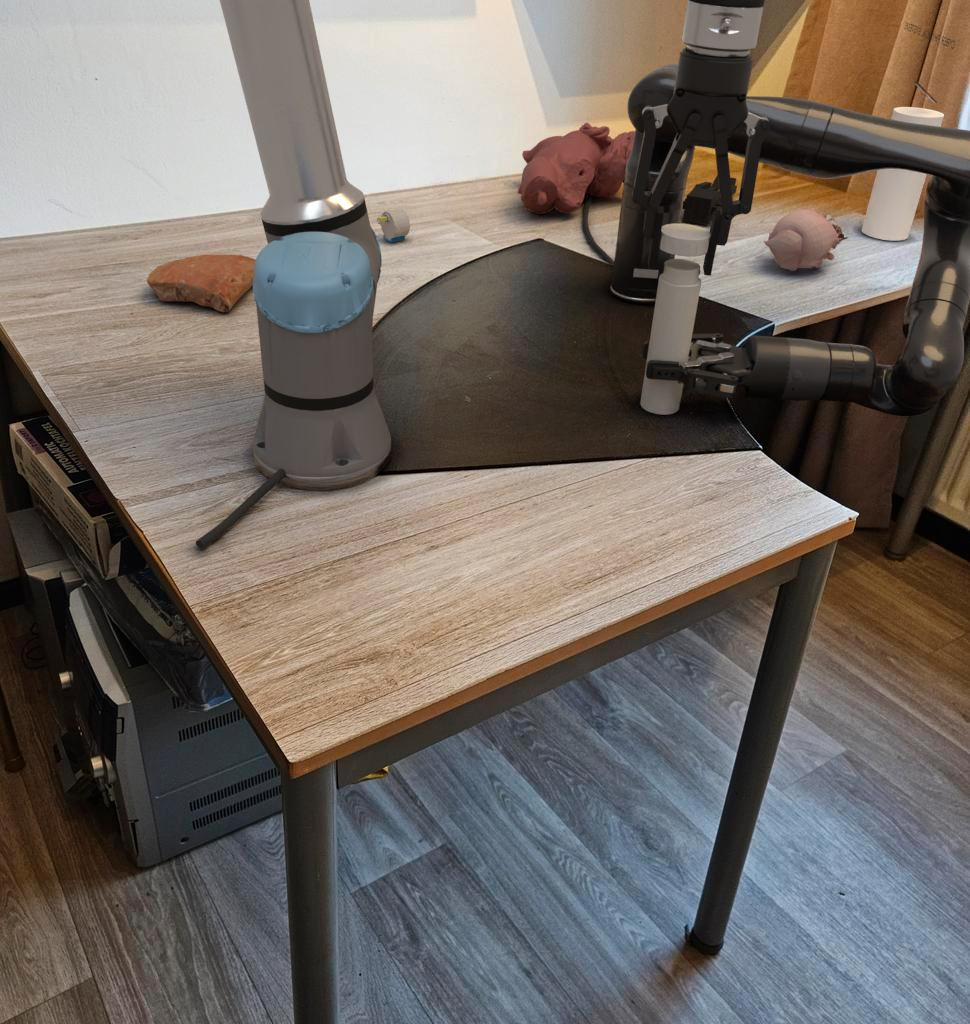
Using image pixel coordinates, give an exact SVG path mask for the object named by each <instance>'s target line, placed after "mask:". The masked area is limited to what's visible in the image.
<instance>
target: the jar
mask: <svg viewBox="0 0 970 1024" xmlns="http://www.w3.org/2000/svg"><path fill="white" fill-rule="evenodd" d="M664 264H665V266H664V273H663V274H661V275H660V276H659V282H658V289H657V295H656V302H655V303H654V308H653V318H652V322H651V330H650V335H649V337H650V338H649V341H650V342H649V349H648V355H647V359H646V363H645V368H644V377H643V381H642V389H641V396H640V402H639V404H640V406H641V408H642V409H643V410H644V411H646V412H648V413H650V414H651V413H652V414H654V415H661V416H662V415H663V416H667V415H673V414H676V413H677V412H678V411H679V410H680V406H681V402H682V401H681V400H682V395H683V390H684V385H682V384H679V383H677V380H676V381H672V380H657V379H648V378H647V377H646V368H647V363H648V361H649V360H660V361H675V362H679V366H680V363H681V362H687V361H688V357H689V356H688V355H689V350H690V344H691V342H692V341H691V338H692V334H694V333H693V332H694V327H695V322H696V316H697V315H696V314H697V310H698V304H699V298H700V293H701V288H702V279H701V277H700V275H701V272H702V271H701V265H700V264H699V263H698V262H696V261H694V260H690V259H687V258H686V259H685V258H675V259H671V260H668V261H665V263H664Z"/></svg>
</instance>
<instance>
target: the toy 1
mask: <svg viewBox="0 0 970 1024" xmlns="http://www.w3.org/2000/svg"><path fill="white" fill-rule="evenodd" d="M730 180H731V190H732V196H734V195H735V194H736V193H737V188H738V185H736V182H737V177H732V176H730ZM682 210H683V216H682V221H683V222H687V223H693V224H699V225H706V226H707V225H709V223H711V222H712V217H713V212H721V204H720V194H719V184H718V174H717V175H716V177H715V178H714V180H713V182H710V181H704V182H700V183H697V184H695V185H694V187H693V188H692V190H691V191H690V192H688V193H687V195H686V196H685V198H684V201H683V208H682Z"/></svg>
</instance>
